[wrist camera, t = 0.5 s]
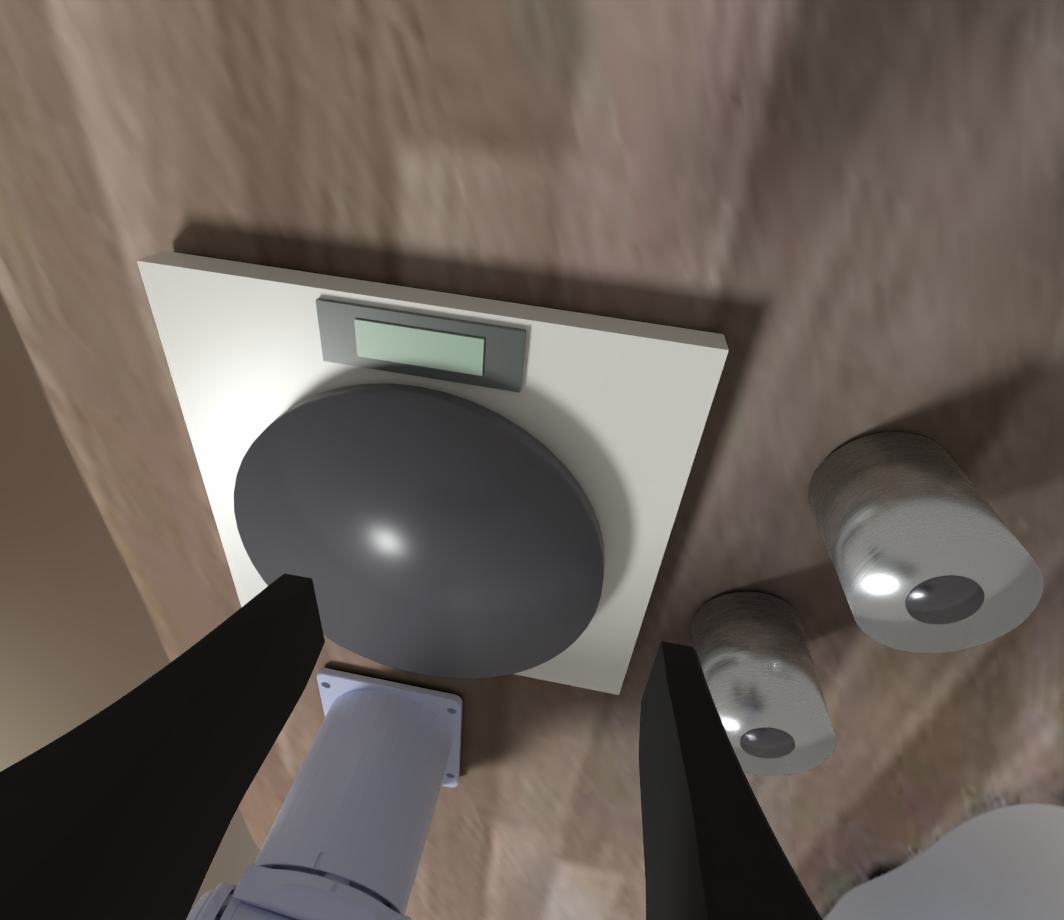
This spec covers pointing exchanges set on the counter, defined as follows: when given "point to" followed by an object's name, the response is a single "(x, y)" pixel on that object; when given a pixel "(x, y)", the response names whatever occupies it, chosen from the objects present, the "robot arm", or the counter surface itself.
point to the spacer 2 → (919, 546)
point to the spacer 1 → (763, 683)
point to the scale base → (459, 369)
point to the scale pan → (423, 530)
